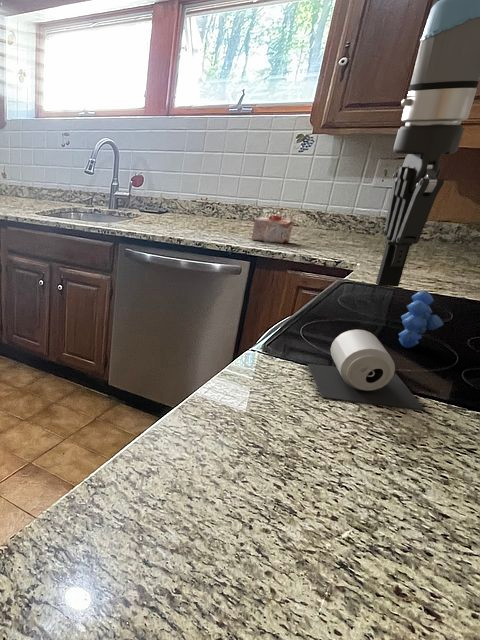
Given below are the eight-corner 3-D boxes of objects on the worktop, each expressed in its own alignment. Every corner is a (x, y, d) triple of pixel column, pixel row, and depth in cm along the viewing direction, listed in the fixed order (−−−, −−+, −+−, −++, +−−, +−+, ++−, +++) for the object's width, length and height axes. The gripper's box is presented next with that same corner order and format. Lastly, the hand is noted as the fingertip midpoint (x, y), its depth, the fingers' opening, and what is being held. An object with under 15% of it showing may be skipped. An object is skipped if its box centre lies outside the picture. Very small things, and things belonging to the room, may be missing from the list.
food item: (293, 242, 201) (298, 215, 197) (284, 245, 196) (289, 218, 192) (257, 237, 210) (262, 212, 206) (248, 240, 206) (252, 214, 202)
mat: (395, 375, 93) (395, 373, 93) (424, 412, 81) (425, 409, 81) (306, 365, 98) (307, 363, 97) (322, 399, 85) (322, 397, 85)
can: (356, 373, 96) (372, 403, 86) (319, 351, 97) (331, 378, 87) (389, 342, 92) (410, 369, 82) (350, 320, 93) (366, 343, 83)
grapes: (428, 362, 98) (450, 300, 93) (385, 352, 102) (404, 293, 98) (438, 345, 106) (458, 287, 101) (397, 336, 110) (415, 281, 105)
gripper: (386, 124, 81) (349, 273, 91) (416, 124, 70) (371, 294, 80) (445, 123, 79) (401, 276, 88) (485, 122, 68) (430, 298, 77)
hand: (386, 284), depth 84 cm, fingers closed
